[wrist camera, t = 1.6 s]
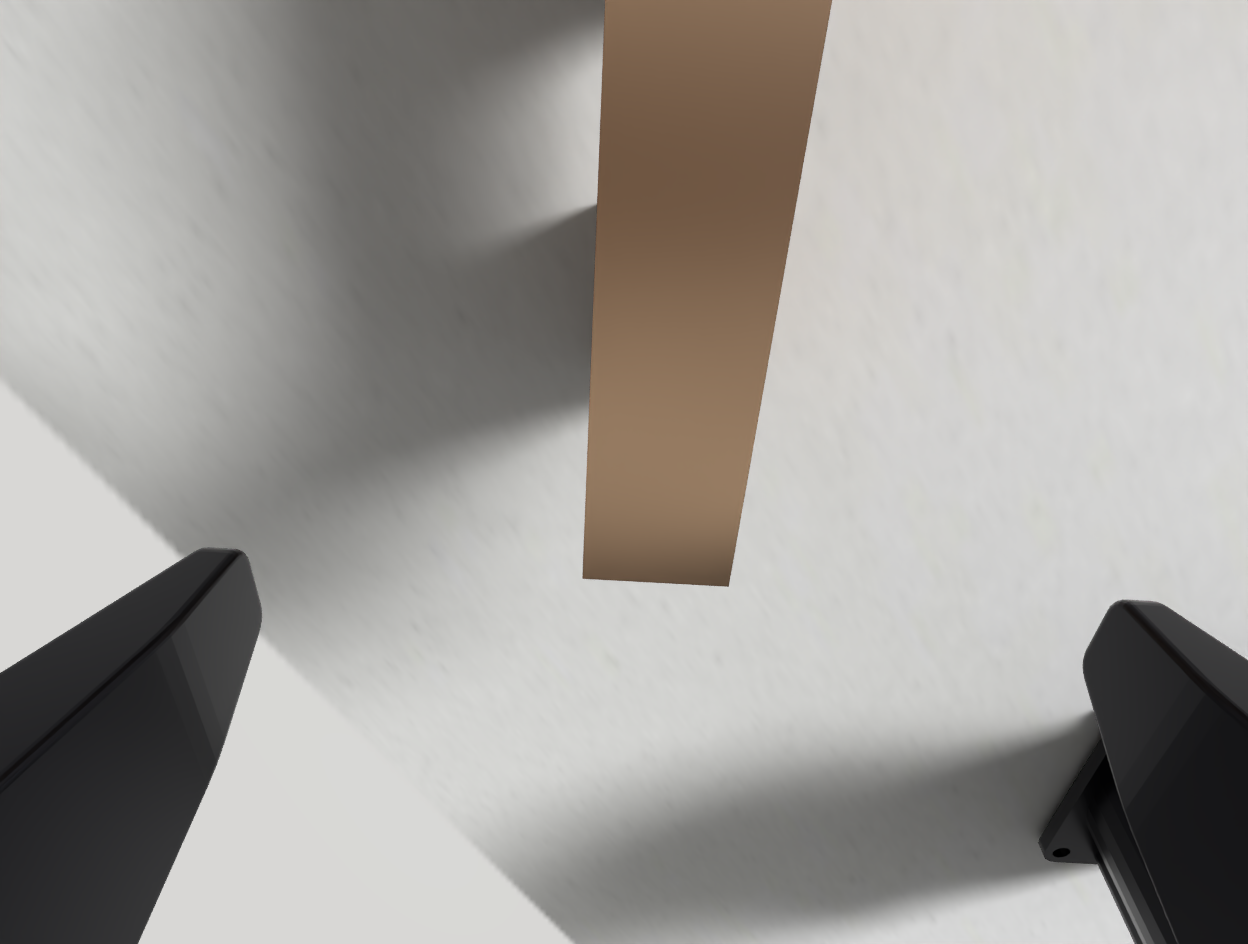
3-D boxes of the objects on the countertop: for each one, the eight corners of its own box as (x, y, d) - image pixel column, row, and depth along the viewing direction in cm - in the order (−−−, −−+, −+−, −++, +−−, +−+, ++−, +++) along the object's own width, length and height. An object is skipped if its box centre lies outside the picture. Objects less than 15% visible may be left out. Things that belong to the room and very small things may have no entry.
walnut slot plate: (702, 376, 16) (728, 586, 11) (600, 369, 16) (582, 579, 11) (790, -321, 11) (920, -503, 6) (632, -333, 10) (626, -527, 6)
